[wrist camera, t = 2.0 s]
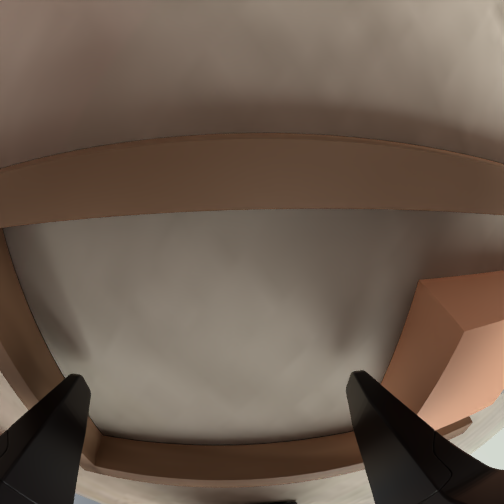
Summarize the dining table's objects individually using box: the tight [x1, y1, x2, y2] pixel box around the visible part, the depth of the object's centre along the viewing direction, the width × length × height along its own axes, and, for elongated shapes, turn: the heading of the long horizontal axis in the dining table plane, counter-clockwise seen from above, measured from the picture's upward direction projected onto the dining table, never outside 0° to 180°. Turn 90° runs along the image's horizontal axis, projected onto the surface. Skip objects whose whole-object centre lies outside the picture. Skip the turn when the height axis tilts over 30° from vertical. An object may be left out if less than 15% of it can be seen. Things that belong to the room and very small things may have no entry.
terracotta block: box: [381, 270, 504, 431], centre depth 9 cm, size 6×6×3 cm
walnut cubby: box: [0, 133, 504, 488], centre depth 9 cm, size 14×21×2 cm
